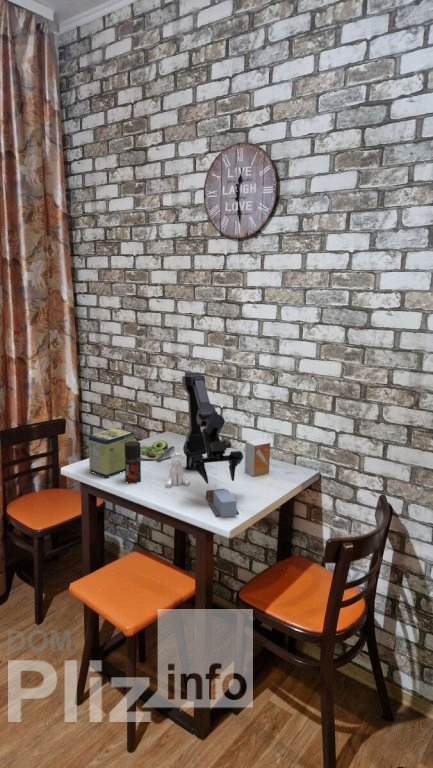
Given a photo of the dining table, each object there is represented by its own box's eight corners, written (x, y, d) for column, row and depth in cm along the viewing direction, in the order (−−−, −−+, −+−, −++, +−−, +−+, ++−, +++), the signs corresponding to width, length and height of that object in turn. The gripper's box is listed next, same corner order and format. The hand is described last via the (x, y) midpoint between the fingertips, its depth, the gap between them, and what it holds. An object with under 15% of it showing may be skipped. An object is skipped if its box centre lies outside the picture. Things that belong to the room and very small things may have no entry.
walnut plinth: (205, 498, 187) (205, 490, 187) (224, 496, 189) (224, 488, 189) (208, 503, 184) (208, 495, 183) (227, 500, 186) (227, 493, 185)
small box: (253, 477, 208) (254, 445, 206) (244, 472, 213) (245, 441, 211) (269, 473, 213) (270, 442, 210) (259, 468, 218) (260, 438, 215)
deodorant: (143, 479, 205) (143, 442, 202) (136, 484, 199) (135, 446, 196) (130, 476, 206) (129, 440, 203) (122, 482, 201) (121, 445, 198)
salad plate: (178, 462, 224) (178, 452, 223) (136, 464, 221) (135, 454, 220) (173, 448, 243) (173, 438, 242) (134, 449, 240) (134, 440, 239)
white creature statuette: (165, 488, 196) (165, 458, 193) (162, 480, 204) (162, 450, 201) (190, 487, 198) (190, 456, 195) (186, 478, 206) (186, 449, 204)
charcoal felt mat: (208, 504, 183) (208, 502, 182) (230, 502, 185) (230, 500, 185) (216, 516, 173) (216, 515, 173) (239, 514, 175) (239, 512, 175)
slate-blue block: (213, 490, 180) (221, 502, 171) (227, 489, 182) (236, 500, 172) (213, 504, 181) (221, 516, 172) (227, 502, 183) (236, 515, 173)
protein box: (135, 467, 217) (134, 431, 214) (106, 478, 204) (105, 440, 201) (117, 462, 223) (116, 427, 220) (88, 472, 210) (87, 435, 207)
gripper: (190, 432, 180) (198, 474, 172) (242, 429, 185) (252, 469, 177) (185, 447, 189) (192, 488, 181) (234, 443, 194) (243, 482, 186)
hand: (220, 481), depth 181 cm, fingers open, 9 cm apart
